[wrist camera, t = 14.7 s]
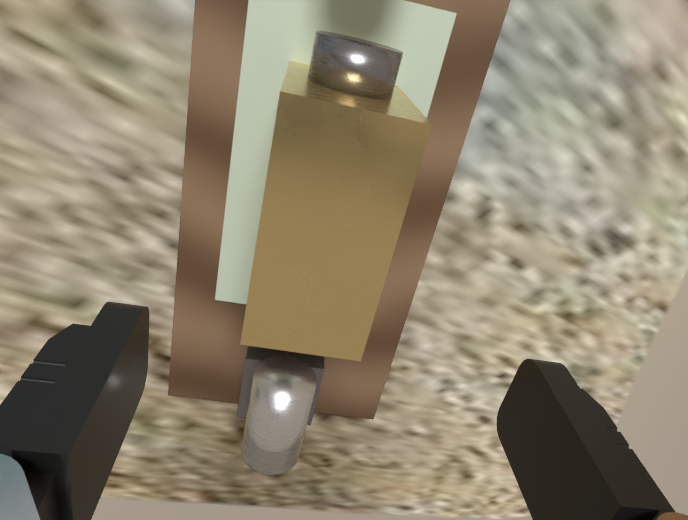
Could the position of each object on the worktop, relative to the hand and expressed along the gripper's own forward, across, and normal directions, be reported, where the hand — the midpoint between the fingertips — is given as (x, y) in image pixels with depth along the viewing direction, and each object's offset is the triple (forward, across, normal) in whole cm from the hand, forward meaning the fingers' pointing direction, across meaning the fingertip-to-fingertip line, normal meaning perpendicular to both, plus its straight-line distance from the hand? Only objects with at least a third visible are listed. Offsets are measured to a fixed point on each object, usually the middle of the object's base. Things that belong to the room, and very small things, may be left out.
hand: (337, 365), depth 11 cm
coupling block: (+13, 0, 0) cm, 13 cm away
